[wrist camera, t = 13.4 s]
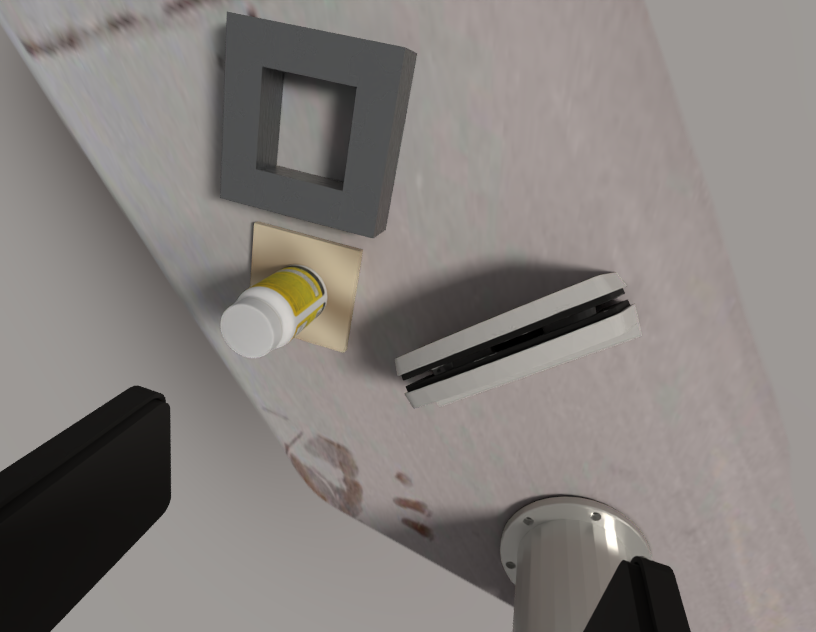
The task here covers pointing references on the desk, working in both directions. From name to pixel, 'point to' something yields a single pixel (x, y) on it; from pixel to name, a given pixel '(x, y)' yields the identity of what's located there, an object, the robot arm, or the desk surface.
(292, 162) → the desk surface
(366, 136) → the socket block
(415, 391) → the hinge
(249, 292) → the supplement bottle
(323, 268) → the pad
